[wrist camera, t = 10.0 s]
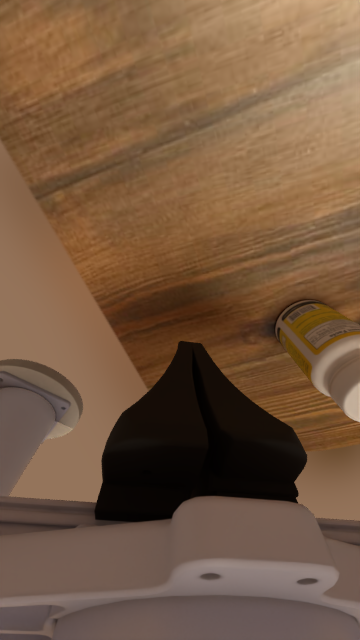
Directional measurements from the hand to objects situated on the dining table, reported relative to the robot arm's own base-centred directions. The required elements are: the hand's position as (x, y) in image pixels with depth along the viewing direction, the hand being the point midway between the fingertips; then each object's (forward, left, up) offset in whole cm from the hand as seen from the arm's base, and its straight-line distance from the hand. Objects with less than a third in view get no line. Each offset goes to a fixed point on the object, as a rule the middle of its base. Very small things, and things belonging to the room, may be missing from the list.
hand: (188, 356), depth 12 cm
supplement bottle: (+5, -9, -6) cm, 12 cm away
